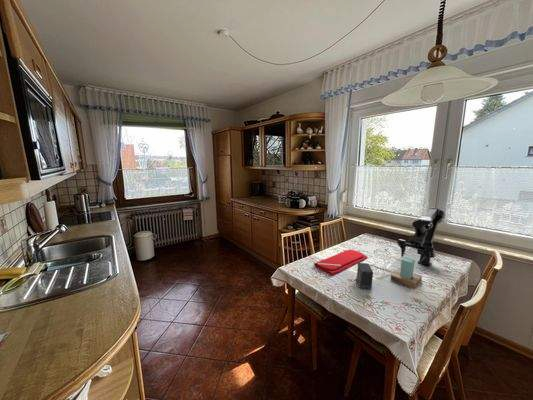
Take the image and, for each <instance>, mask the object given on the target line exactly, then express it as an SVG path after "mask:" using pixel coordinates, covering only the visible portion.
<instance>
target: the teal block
mask: <svg viewBox="0 0 533 400" xmlns="http://www.w3.org/2000/svg"><path fill="white" fill-rule="evenodd" d="M400 263H401V264H400V269H401V271H400V276H403V277H405V278H408V279H410V278H411V277H412V276H413V274H414V270H415V269H414V267H415V263H416V260H415V259H412V258H409V257H404V258H403V257H402V259H401V262H400Z"/></svg>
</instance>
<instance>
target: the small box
mask: <svg viewBox="0 0 533 400" xmlns="http://www.w3.org/2000/svg"><path fill="white" fill-rule="evenodd" d="M373 276H374V271H373V269H372V267H371V265H370V263H364V262H359V263H357V272H356V280H357V285H358V287H359V289H363V290H364V289H365V290H372V288H373Z"/></svg>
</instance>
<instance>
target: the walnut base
mask: <svg viewBox="0 0 533 400" xmlns="http://www.w3.org/2000/svg"><path fill="white" fill-rule="evenodd" d="M400 271H401V268H398V269H396V271H394V273H392V274H391V275H390V280H391V281H392V282H396V283H398V284H400V285H403V286H406V287H408V288H411V289H413V290H415V288H417V286H418V285H419V284H420V283H421V282H422V280H423V279H422V278H423V276H422V275H419V274H416V273H413V276H412V277H411V278H410V279H408V278H405V277H403V276H400Z"/></svg>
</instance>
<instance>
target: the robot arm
mask: <svg viewBox="0 0 533 400" xmlns="http://www.w3.org/2000/svg"><path fill="white" fill-rule="evenodd" d="M445 216H446V213H445V211H443V210H441V209H440V208H438V207H432V206H431V207H429V209H428V210H427V212H426V214H425V215H424V216H420V217H419V218H417V220H415V221H412V224H411V226H412V227H413V231H414V234H413V235H411V234H410V235H409V238H408V242H409V243H408V242H407V241H406V240H405V239H400V238H399V239H398V240H397V241H396V243H397V245H398V247H399V249H400V251H401V252H400V253H401V258H403V257H404V255H405V252H406V250H407V249H406V248H407V247H410V248H411V249H416V250H417V252H416V253H417V255H419V260H418V261H417V263H418V264H419V265H423V266H426V267H430V266H431V265H432V262H431V259H433V258H435V257H436V256H435V255H436V250H435V247H434V245H433V241H434V237H435V235H436V231H437V229H438V225H439V224H440V223H442V222H443V219H445Z"/></svg>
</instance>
